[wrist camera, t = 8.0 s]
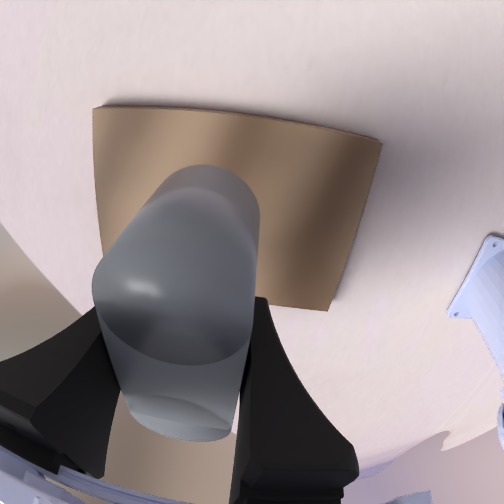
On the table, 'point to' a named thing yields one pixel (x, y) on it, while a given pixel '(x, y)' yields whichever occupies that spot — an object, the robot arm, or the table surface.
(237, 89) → the table surface
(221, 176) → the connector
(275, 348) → the robot arm
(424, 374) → the table surface
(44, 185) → the table surface
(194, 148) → the walnut board
